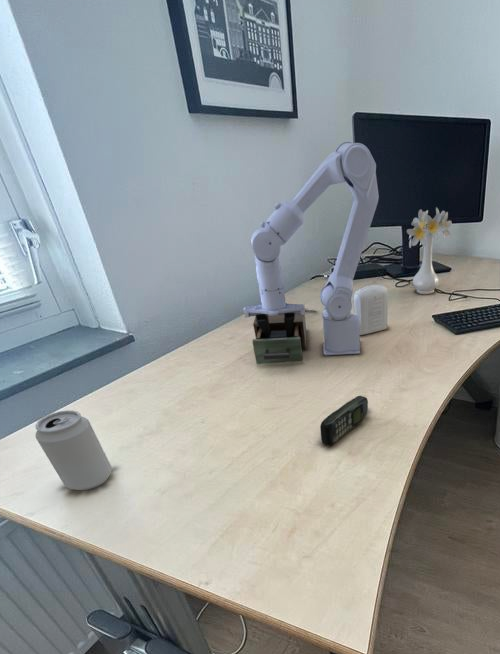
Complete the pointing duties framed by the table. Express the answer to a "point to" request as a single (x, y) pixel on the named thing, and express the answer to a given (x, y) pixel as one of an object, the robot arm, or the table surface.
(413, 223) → the flower vase
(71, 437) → the can
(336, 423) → the mobile phone
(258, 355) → the drawer
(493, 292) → the table surface
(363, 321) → the white rounded slab
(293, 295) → the table surface
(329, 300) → the robot arm
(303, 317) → the cabinet
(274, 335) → the block
